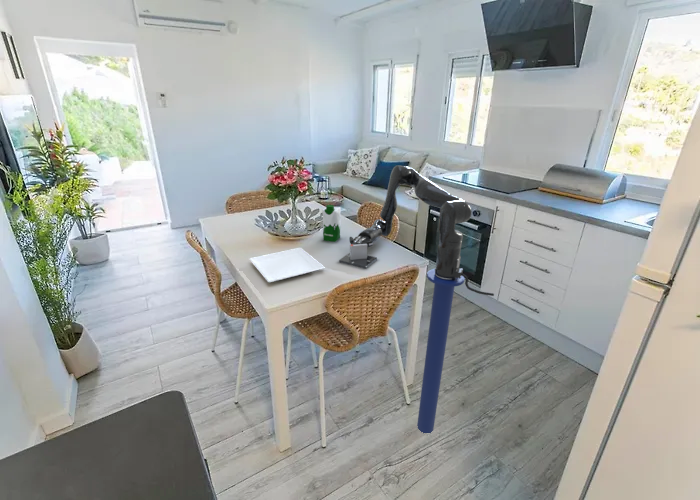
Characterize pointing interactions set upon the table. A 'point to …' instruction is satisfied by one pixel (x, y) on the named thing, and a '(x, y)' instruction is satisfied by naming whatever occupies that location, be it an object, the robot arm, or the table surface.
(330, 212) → the milk carton
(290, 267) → the plate
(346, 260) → the panel
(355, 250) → the grey rectangular block
